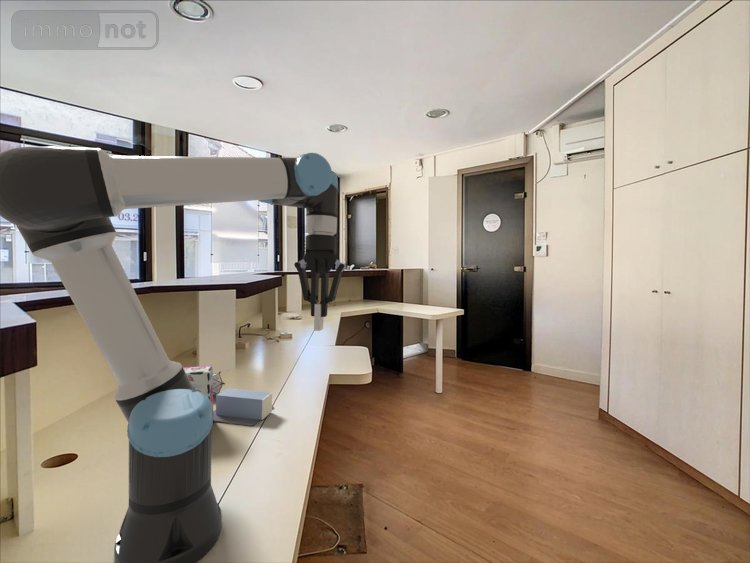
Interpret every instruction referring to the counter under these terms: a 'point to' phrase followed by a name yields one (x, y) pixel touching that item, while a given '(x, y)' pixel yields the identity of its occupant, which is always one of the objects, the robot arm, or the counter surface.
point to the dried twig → (217, 383)
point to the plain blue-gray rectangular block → (244, 403)
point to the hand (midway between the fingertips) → (318, 329)
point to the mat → (234, 420)
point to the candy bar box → (201, 380)
